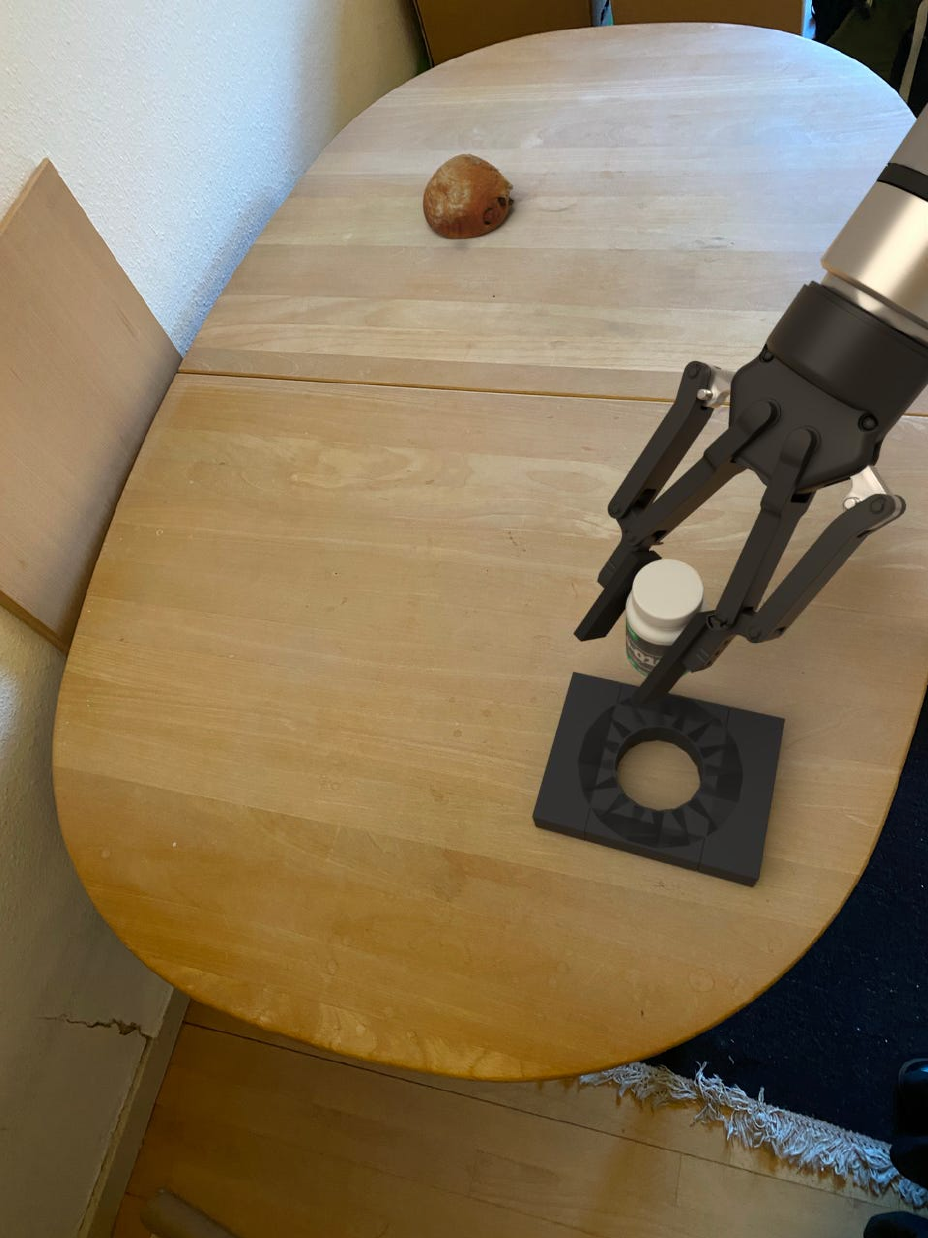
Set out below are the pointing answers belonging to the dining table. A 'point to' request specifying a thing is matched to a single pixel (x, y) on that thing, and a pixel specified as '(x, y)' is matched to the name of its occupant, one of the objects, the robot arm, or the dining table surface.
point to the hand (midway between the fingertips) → (618, 664)
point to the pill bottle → (660, 610)
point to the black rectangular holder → (684, 836)
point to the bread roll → (466, 198)
